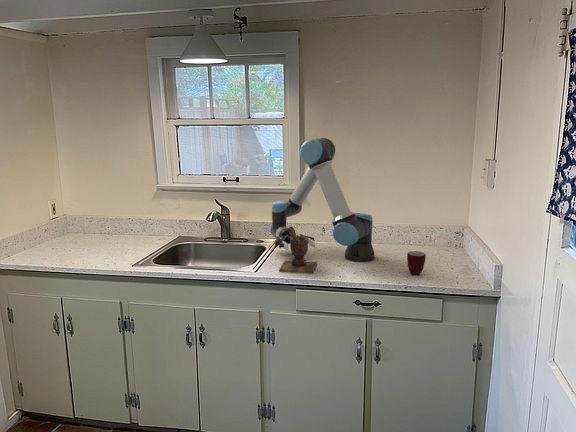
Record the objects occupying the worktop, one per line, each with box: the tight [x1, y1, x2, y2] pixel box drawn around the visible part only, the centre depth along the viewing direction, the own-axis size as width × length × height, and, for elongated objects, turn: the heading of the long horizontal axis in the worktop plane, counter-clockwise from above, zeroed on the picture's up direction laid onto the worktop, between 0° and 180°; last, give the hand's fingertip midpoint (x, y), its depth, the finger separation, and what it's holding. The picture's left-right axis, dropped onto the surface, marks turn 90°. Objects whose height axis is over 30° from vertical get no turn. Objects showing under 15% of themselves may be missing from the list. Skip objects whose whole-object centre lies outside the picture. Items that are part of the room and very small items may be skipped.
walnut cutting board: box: [278, 259, 318, 275], centre depth 229 cm, size 16×14×1 cm
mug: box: [406, 250, 427, 276], centre depth 220 cm, size 11×8×10 cm
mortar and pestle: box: [287, 225, 309, 267], centre depth 227 cm, size 12×9×20 cm
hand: (301, 246), depth 224 cm, fingers open, 13 cm apart
